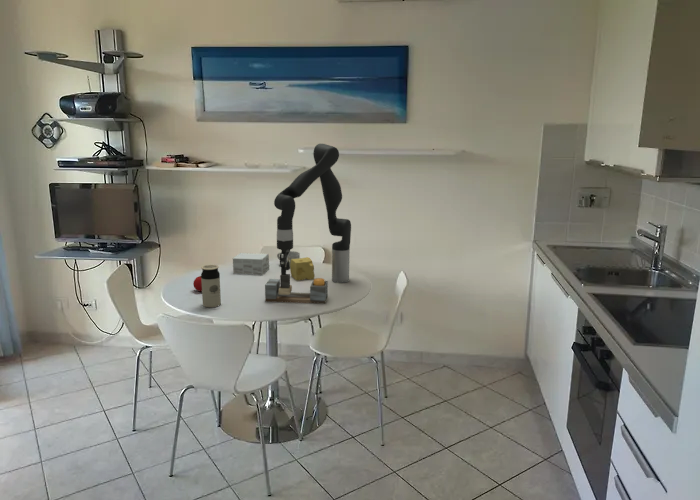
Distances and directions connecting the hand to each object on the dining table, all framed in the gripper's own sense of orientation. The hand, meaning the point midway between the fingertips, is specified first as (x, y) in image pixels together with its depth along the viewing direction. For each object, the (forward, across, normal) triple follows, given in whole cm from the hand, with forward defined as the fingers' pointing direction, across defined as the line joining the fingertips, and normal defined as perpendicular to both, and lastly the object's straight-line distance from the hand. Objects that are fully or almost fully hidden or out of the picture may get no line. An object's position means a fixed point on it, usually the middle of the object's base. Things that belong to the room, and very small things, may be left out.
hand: (285, 272), depth 241 cm
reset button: (+7, 0, +16) cm, 17 cm away
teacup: (+13, -59, -9) cm, 61 cm away
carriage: (+10, 0, 0) cm, 10 cm away
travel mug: (+14, +11, -32) cm, 36 cm away
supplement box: (+13, -46, -27) cm, 55 cm away
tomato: (+13, -9, -43) cm, 45 cm away
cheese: (+13, -36, +3) cm, 39 cm away
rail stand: (+13, 0, +5) cm, 14 cm away
